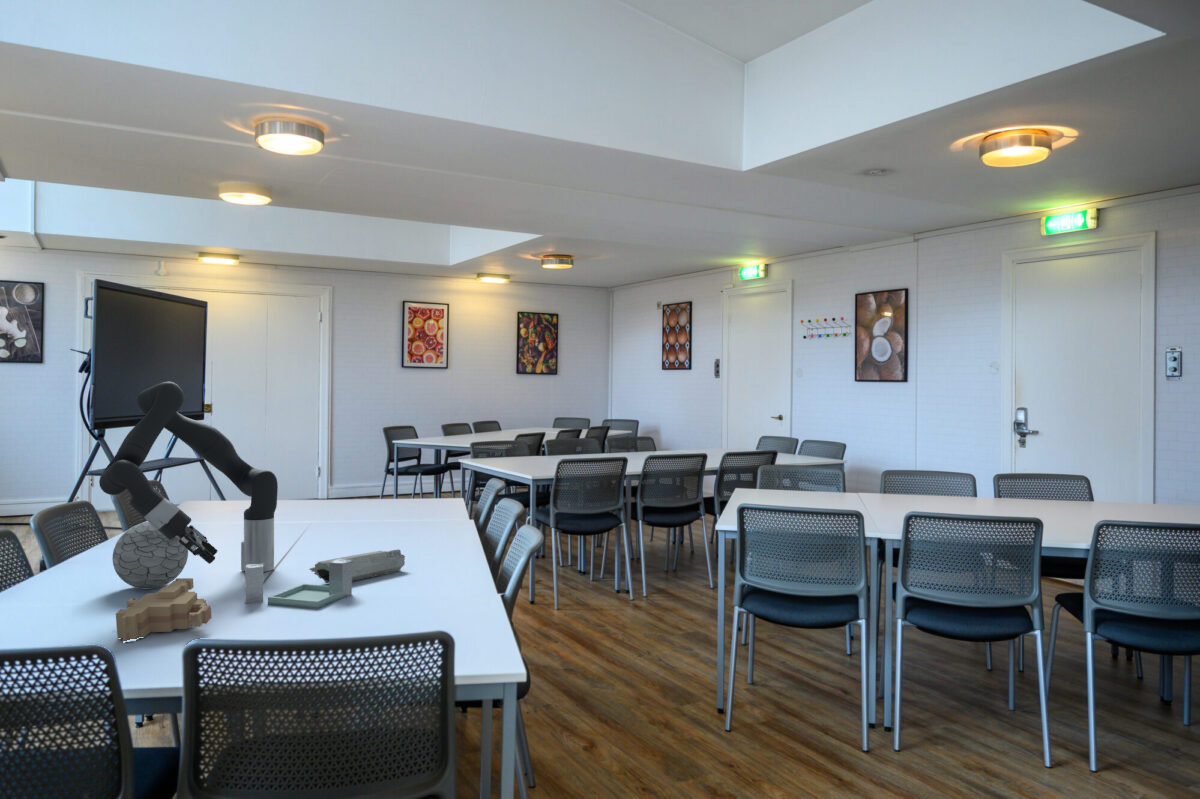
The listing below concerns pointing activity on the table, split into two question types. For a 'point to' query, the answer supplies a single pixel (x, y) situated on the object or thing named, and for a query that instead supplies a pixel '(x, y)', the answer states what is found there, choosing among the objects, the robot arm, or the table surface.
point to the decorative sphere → (148, 557)
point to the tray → (305, 596)
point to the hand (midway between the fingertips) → (214, 557)
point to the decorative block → (365, 564)
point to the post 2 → (340, 577)
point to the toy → (163, 611)
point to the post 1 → (254, 583)
